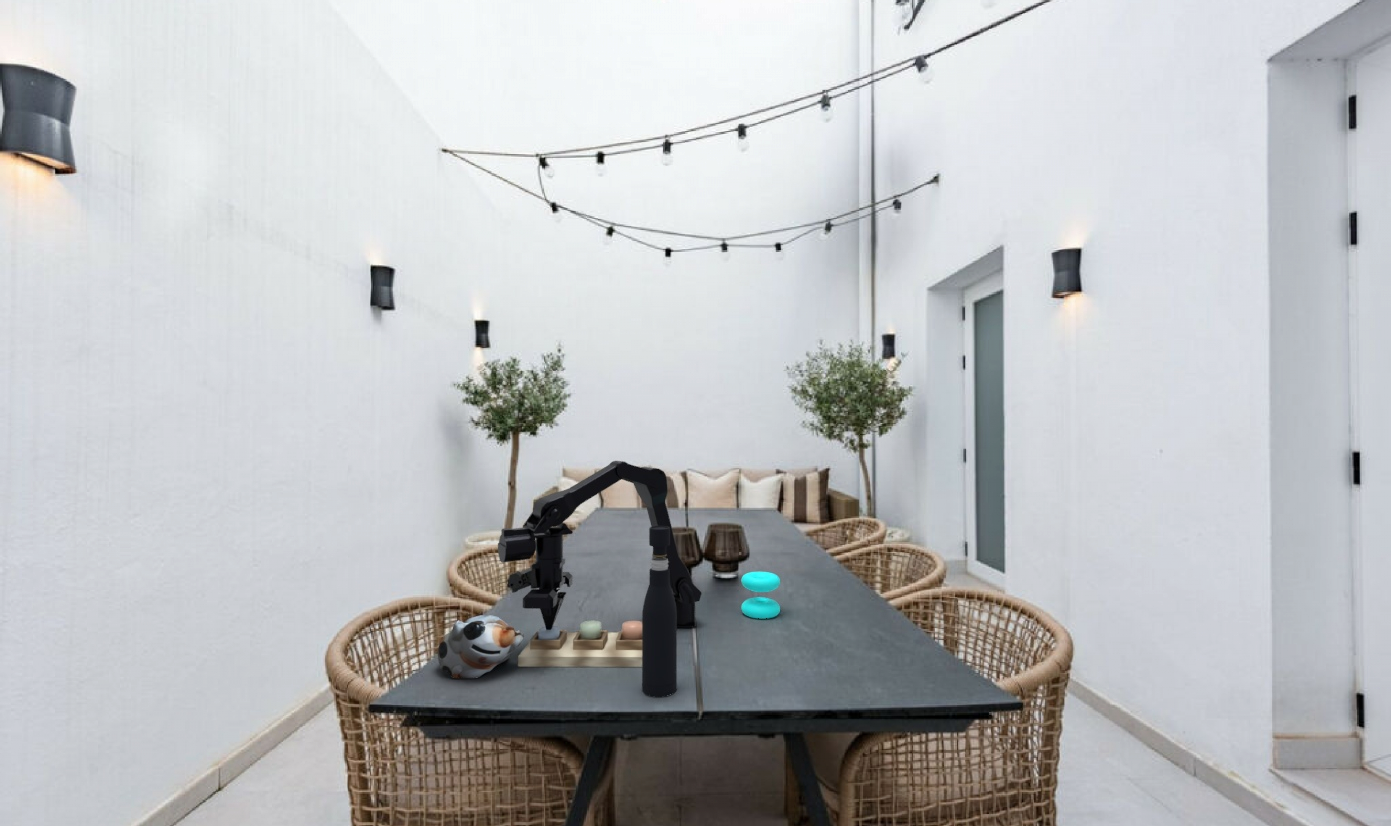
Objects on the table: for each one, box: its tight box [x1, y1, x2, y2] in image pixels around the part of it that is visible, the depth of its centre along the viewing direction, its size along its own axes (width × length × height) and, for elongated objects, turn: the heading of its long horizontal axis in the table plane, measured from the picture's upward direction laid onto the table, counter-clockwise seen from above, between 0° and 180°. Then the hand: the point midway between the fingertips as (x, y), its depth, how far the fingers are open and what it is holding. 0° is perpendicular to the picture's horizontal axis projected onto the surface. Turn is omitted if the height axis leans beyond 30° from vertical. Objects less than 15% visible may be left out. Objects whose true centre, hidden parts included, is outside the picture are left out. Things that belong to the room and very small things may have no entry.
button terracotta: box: [621, 620, 642, 640], centre depth 128 cm, size 4×4×2 cm
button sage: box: [579, 619, 602, 639], centre depth 128 cm, size 4×4×2 cm
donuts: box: [740, 571, 781, 620], centre depth 155 cm, size 10×10×10 cm
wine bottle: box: [641, 526, 678, 698], centre depth 111 cm, size 6×6×30 cm
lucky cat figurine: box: [437, 614, 525, 679], centre depth 120 cm, size 15×12×14 cm
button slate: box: [537, 625, 561, 640], centre depth 128 cm, size 4×4×2 cm
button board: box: [517, 629, 642, 668], centre depth 128 cm, size 27×14×4 cm, turn 89°
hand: (549, 629), depth 128 cm, fingers closed
